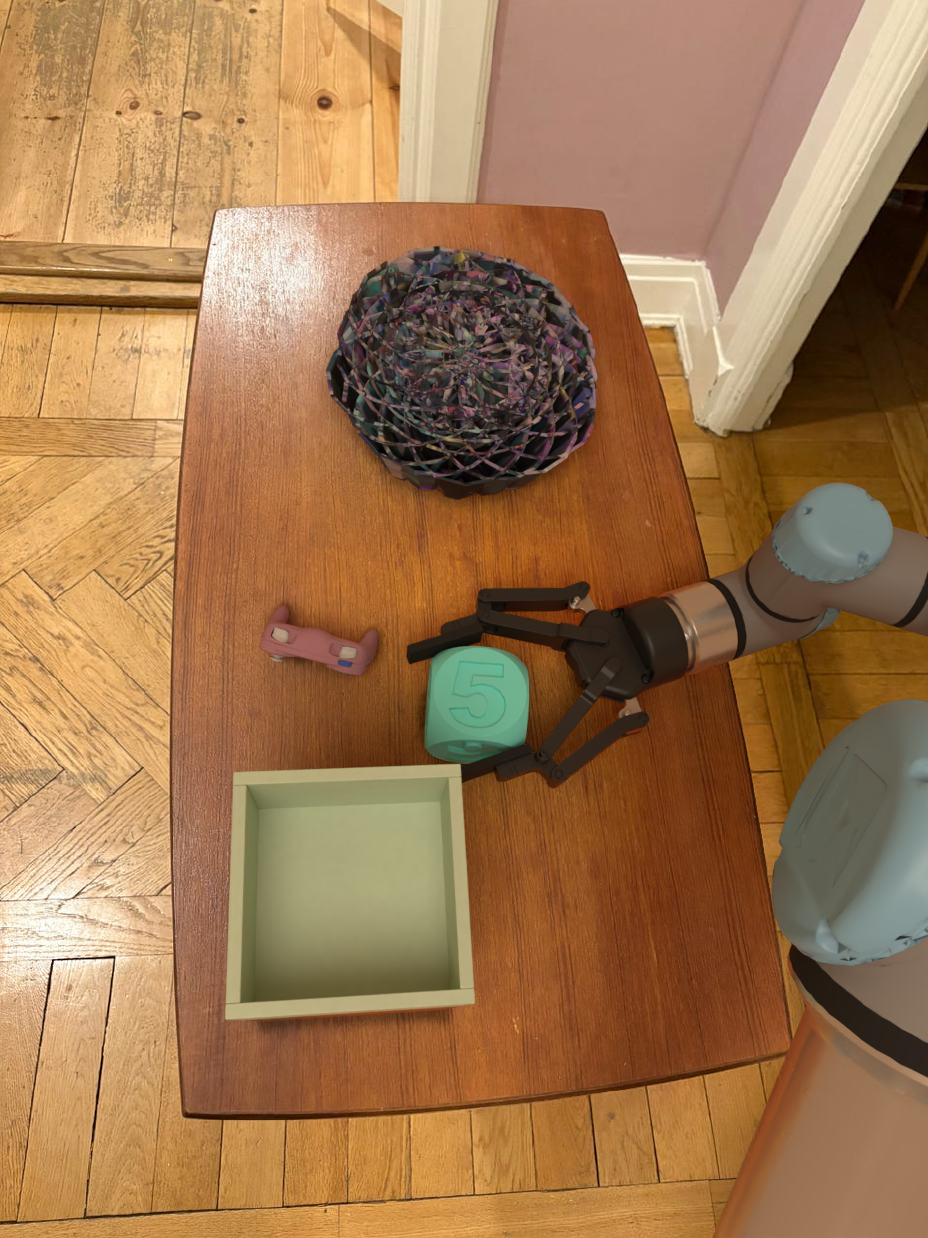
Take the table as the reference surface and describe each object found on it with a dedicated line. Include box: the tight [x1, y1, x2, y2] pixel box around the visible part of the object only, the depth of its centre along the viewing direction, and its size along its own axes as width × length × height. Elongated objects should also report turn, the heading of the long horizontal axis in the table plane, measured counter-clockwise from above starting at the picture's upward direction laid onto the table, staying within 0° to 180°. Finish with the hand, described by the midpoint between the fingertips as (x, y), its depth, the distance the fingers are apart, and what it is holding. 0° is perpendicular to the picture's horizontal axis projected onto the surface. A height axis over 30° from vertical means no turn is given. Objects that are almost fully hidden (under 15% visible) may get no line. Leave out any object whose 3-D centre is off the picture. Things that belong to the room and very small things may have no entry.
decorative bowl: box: [325, 245, 599, 501], centre depth 93 cm, size 26×28×10 cm
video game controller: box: [258, 604, 379, 676], centre depth 82 cm, size 10×5×7 cm, turn 76°
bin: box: [224, 763, 476, 1021], centre depth 58 cm, size 14×14×8 cm
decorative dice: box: [423, 645, 530, 765], centre depth 80 cm, size 8×8×8 cm
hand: (430, 715), depth 77 cm, fingers closed on decorative dice, 10 cm apart
